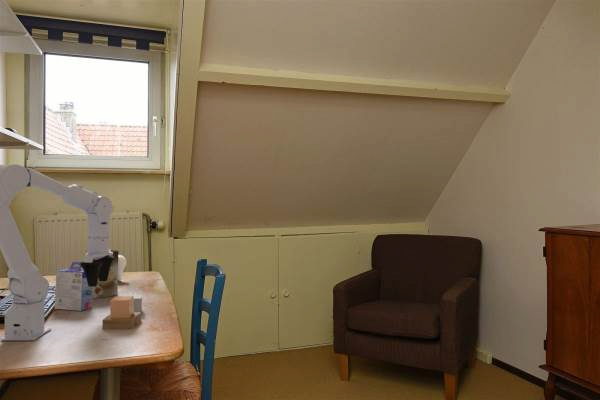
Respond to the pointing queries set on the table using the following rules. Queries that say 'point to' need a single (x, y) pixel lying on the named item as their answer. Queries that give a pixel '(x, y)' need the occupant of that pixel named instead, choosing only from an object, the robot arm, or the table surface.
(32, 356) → the table surface
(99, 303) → the table surface
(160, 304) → the table surface
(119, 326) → the walnut block
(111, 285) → the coffee box
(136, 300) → the grey cube
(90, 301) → the ink cartridge box
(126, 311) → the terracotta cube
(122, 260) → the lightbulb
